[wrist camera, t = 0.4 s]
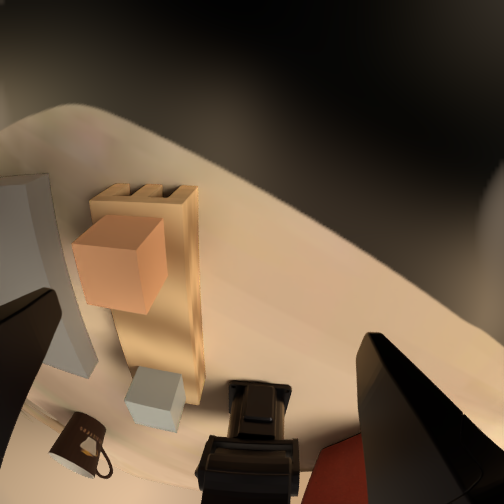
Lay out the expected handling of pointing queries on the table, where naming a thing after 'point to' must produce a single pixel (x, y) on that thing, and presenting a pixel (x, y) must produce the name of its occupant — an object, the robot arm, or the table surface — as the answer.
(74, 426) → the coffee mug
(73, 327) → the dock
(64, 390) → the table surface
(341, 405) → the table surface
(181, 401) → the grey cube
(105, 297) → the orange cube
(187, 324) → the wooden block
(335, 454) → the plant pot
